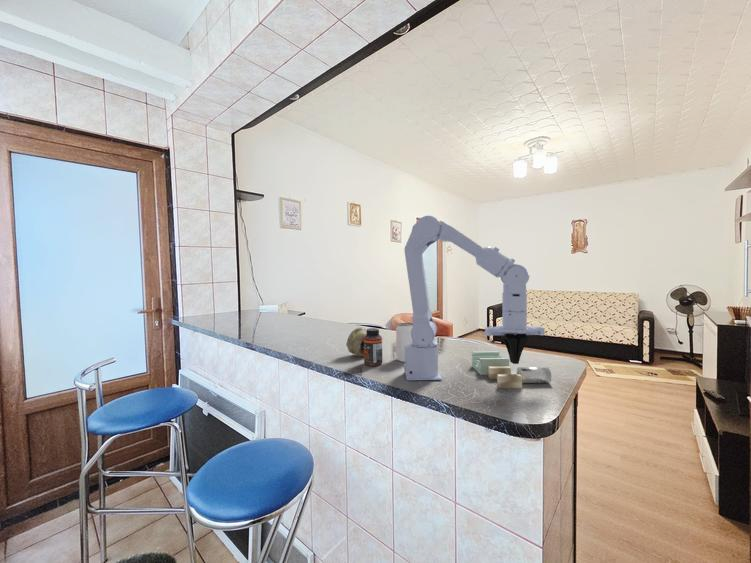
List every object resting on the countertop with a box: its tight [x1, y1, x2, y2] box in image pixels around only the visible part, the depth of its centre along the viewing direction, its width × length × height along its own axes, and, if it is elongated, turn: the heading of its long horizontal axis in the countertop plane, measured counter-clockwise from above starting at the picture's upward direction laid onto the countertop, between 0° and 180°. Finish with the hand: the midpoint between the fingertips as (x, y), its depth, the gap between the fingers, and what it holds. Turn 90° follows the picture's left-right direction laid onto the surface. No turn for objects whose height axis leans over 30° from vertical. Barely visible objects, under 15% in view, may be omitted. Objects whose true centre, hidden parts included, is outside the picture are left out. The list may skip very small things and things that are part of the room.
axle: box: [516, 366, 552, 384], centre depth 79 cm, size 7×4×4 cm, turn 88°
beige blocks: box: [487, 365, 523, 389], centre depth 80 cm, size 6×8×3 cm
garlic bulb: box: [345, 326, 367, 358], centre depth 108 cm, size 9×8×10 cm
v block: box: [471, 350, 510, 376], centre depth 90 cm, size 8×8×4 cm
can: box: [395, 322, 413, 363], centre depth 102 cm, size 6×6×12 cm
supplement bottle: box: [363, 327, 383, 367], centre depth 98 cm, size 6×6×11 cm
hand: (514, 362), depth 79 cm, fingers closed
